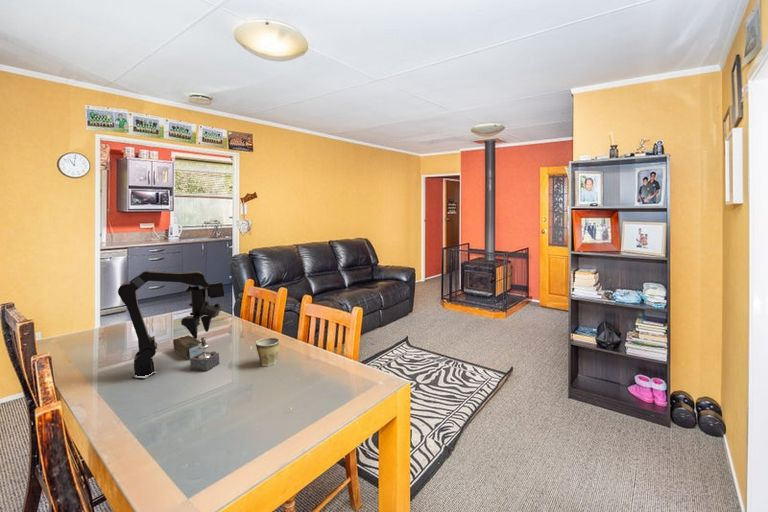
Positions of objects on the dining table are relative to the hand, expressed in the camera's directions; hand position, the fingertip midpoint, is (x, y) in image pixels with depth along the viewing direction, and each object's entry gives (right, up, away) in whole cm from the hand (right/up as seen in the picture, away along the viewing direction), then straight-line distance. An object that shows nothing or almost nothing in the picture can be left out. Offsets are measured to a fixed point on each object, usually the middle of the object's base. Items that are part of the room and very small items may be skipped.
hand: (201, 334), depth 169 cm
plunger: (+2, -9, -2) cm, 10 cm away
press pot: (+3, -13, -1) cm, 14 cm away
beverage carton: (-12, -12, +15) cm, 23 cm away
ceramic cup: (+30, -13, +2) cm, 32 cm away
